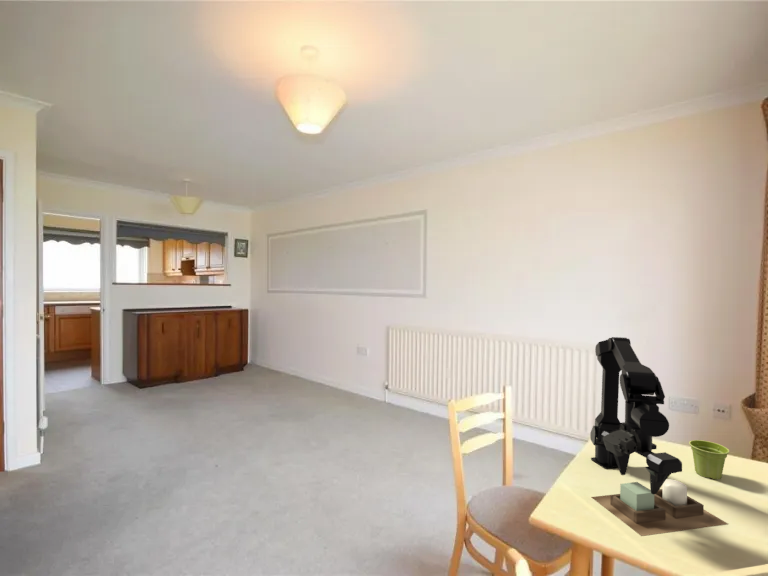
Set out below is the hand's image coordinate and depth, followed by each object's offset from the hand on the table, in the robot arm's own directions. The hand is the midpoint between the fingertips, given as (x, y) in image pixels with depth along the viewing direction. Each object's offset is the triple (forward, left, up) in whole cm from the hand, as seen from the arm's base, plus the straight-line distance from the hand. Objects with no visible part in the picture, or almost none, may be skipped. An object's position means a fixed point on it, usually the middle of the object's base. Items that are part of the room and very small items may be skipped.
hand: (637, 483), depth 96 cm
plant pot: (-14, +39, -8) cm, 42 cm away
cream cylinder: (0, +11, -7) cm, 13 cm away
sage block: (0, 0, -7) cm, 7 cm away
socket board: (0, +6, -8) cm, 10 cm away
